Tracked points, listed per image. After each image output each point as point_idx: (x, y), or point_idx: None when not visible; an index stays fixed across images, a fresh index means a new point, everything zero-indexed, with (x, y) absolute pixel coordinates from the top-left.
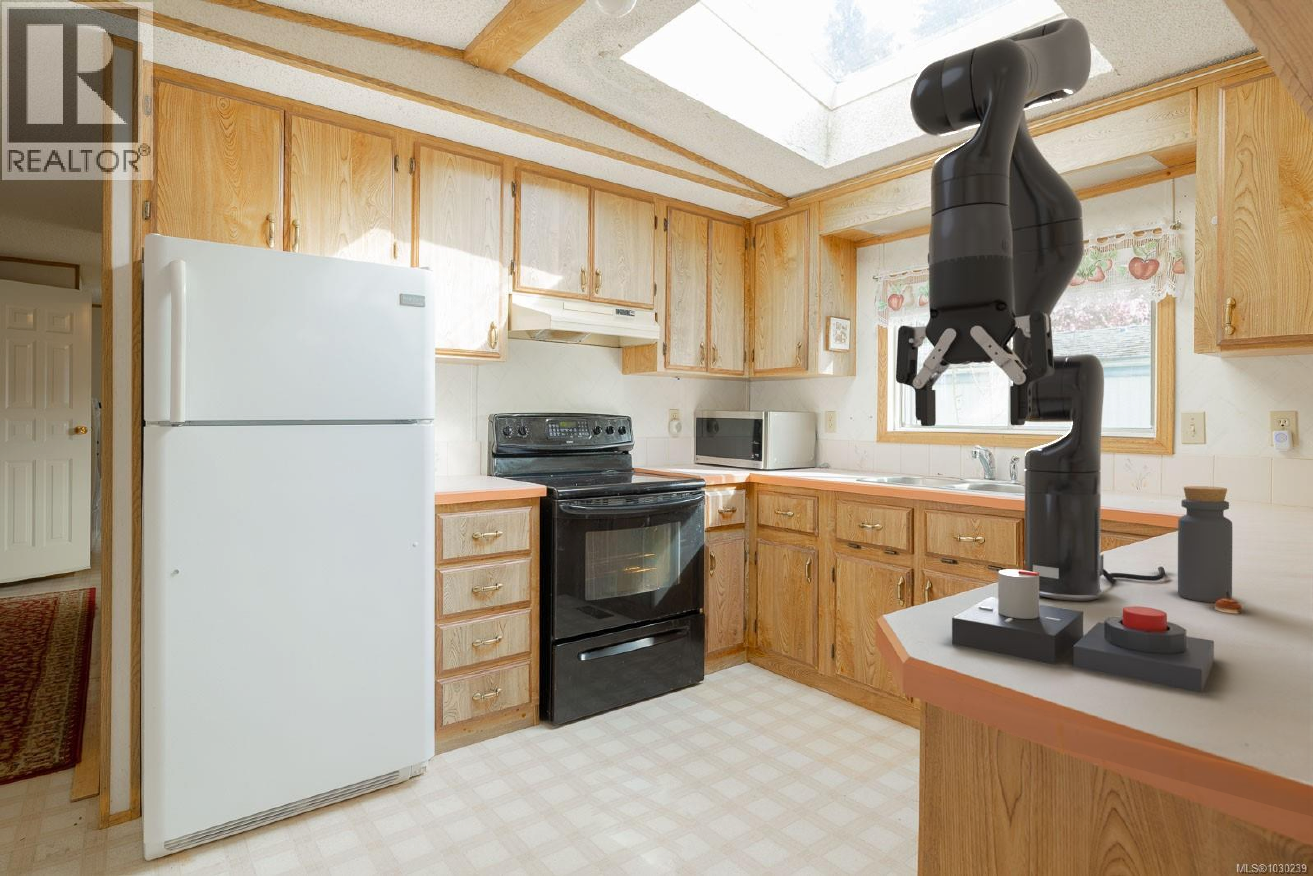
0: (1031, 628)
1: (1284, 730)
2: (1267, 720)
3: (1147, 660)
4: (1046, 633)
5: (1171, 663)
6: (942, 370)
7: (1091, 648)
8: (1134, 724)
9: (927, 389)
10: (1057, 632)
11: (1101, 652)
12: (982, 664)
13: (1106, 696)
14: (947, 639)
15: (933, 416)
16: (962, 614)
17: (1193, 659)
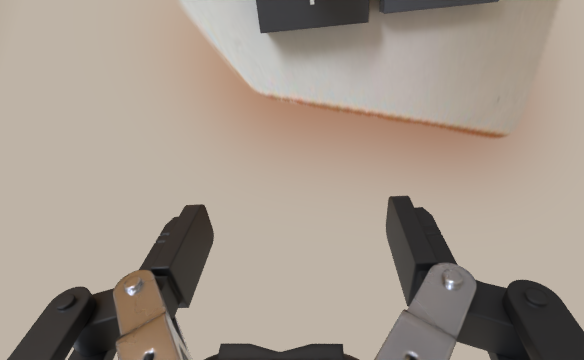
0: (341, 9)
1: (532, 49)
2: (526, 33)
3: (451, 6)
4: (359, 19)
5: (473, 2)
6: (174, 329)
7: (401, 9)
8: (433, 115)
9: (178, 298)
10: (368, 5)
11: (410, 10)
12: (310, 66)
13: (412, 71)
14: (250, 10)
15: (200, 224)
16: (261, 9)
17: None
